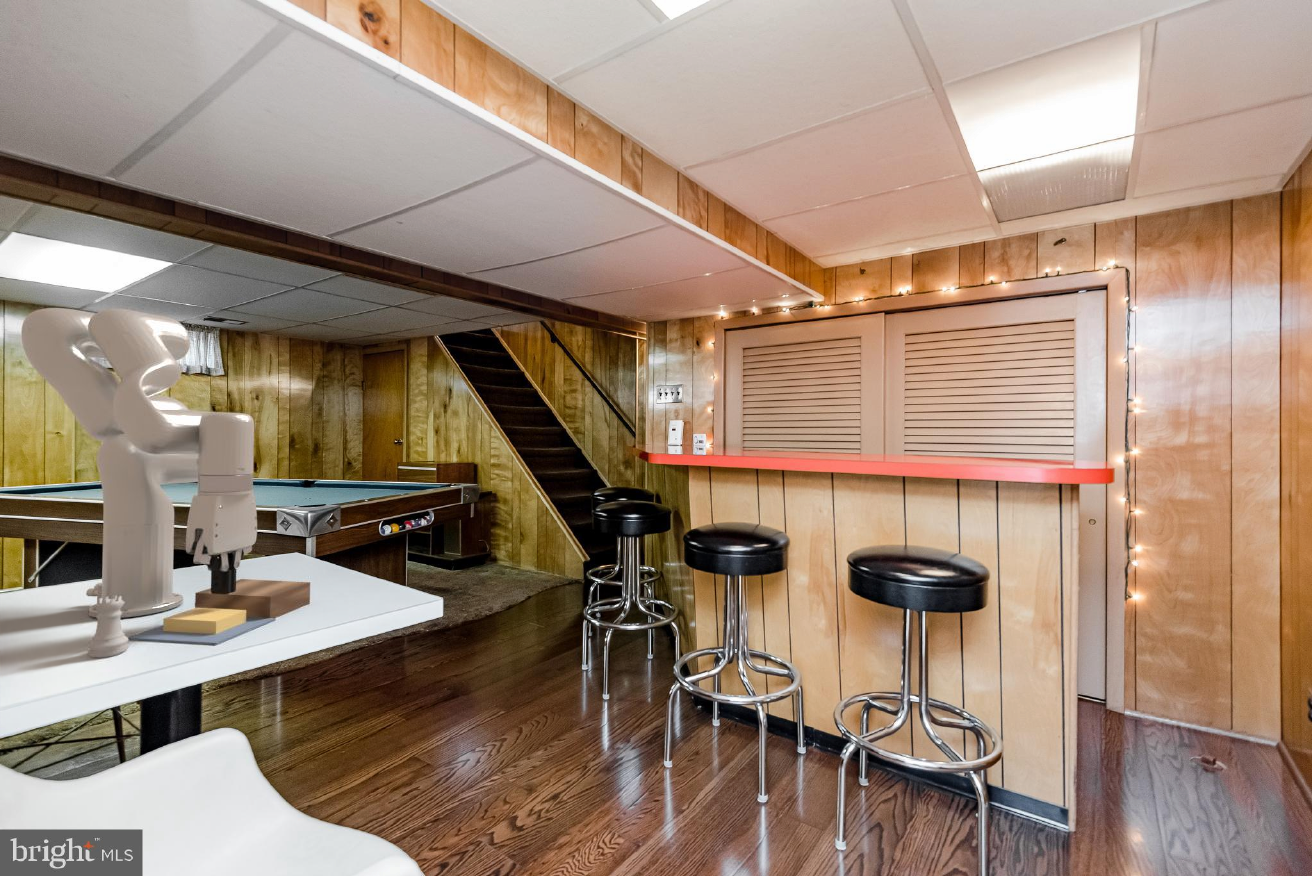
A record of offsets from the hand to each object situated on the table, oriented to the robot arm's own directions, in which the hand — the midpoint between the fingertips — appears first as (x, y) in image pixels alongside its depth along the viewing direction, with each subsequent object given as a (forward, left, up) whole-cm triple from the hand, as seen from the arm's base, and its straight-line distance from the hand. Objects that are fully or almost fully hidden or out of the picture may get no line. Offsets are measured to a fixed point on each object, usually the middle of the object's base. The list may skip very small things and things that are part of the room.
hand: (223, 592), depth 98 cm
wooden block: (0, +7, -5) cm, 9 cm away
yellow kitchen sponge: (0, -3, -3) cm, 4 cm away
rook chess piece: (-4, -15, -5) cm, 17 cm away
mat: (0, -4, -5) cm, 6 cm away
